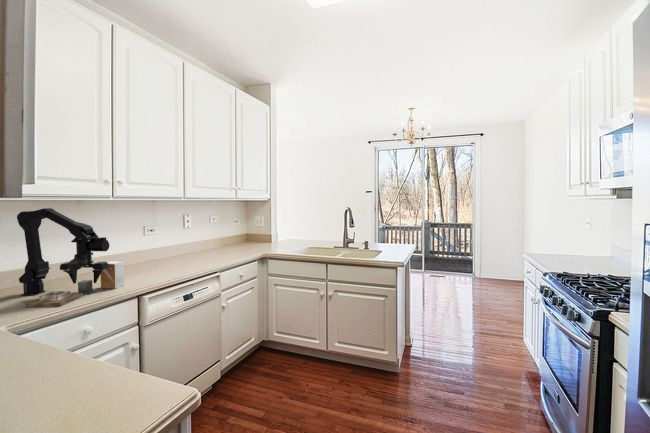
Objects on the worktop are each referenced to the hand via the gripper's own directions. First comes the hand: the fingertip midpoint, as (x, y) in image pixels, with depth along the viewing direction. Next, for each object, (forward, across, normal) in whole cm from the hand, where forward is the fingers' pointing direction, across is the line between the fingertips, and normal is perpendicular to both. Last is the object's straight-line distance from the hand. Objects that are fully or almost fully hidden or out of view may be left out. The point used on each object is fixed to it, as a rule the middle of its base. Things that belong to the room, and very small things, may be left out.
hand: (85, 283), depth 151 cm
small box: (+5, +7, +10) cm, 13 cm away
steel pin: (+5, 0, 0) cm, 5 cm away
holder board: (+5, -5, -12) cm, 14 cm away
